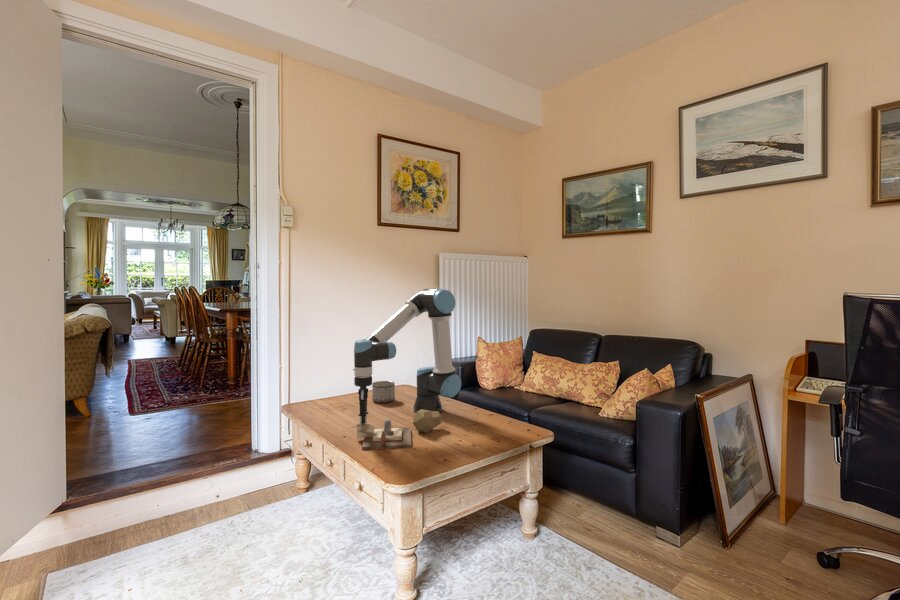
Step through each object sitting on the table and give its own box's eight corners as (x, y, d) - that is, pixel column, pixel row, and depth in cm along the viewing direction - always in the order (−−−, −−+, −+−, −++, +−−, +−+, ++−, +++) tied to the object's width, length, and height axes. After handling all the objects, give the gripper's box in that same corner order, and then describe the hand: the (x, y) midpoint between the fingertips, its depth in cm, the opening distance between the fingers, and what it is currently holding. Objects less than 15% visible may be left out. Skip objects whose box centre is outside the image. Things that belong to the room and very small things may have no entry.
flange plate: (401, 430, 196) (401, 418, 195) (401, 440, 184) (401, 427, 183) (358, 432, 193) (358, 420, 193) (355, 442, 181) (355, 429, 181)
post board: (410, 429, 201) (410, 412, 201) (411, 447, 179) (411, 428, 179) (366, 431, 199) (366, 414, 198) (362, 449, 177) (361, 430, 177)
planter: (373, 398, 256) (373, 381, 255) (394, 397, 257) (394, 380, 257) (371, 404, 243) (371, 386, 243) (394, 403, 244) (394, 385, 244)
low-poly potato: (410, 436, 193) (431, 427, 189) (404, 412, 198) (424, 403, 194) (428, 436, 206) (448, 427, 201) (422, 413, 210) (442, 404, 206)
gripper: (356, 373, 195) (356, 425, 196) (352, 379, 182) (353, 435, 183) (373, 372, 196) (373, 424, 196) (371, 379, 183) (371, 434, 183)
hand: (363, 429), depth 189 cm, fingers closed
